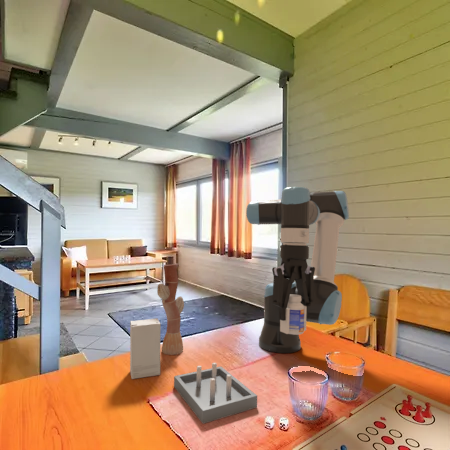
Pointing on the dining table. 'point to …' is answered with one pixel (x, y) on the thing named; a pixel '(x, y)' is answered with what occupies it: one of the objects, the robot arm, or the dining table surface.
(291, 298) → the pill bottle
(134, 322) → the skincare box
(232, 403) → the tray
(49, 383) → the dining table surface
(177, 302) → the wooden tree sculpture
